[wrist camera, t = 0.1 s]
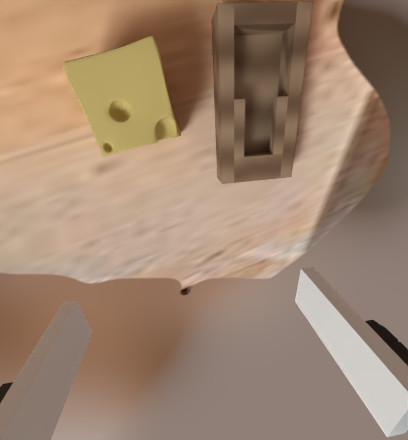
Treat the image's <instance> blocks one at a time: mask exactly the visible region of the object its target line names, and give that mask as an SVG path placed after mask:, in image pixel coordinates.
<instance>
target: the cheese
mask: <svg viewBox="0 0 408 440" xmlns="http://www.w3.org/2000/svg"><path fill="white" fill-rule="evenodd" d="M62 66H63V68H64V71H65V73H66V75H67V78H68V80H69V82H70V84H71V86H72V88H73V90H74V93H75V95H76V97H77V99H78V101H79V103H80V105H81V107H82V109H83V111H84V113H85V115H86V117H87V119H88V121H89V124H90V126H91V128H92V131H93V133H94V136H95V138H96V141H97V144H98V146H99V149H100V151H101V153H102V155H103V156H108V155H112V154H115V153H118V152H122V151H125V150H128V149H132V148H135V147H139V146H143V145H148V144H153V143H156V142H158V141H159V140H162V139H166V138H171V137H177V136H181V132H180V129H179V126H178V124H177V122H176V120H175V116H174V113H173V109H172V106H171V102H170V98H169V94H168V90H167V86H166V81H165V75H164V70H163V64H162V60H161V55H160V51H159V47H158V45H157V42H156V40H155V38H154V37H153V36H148V37H146V38H143V39H140V40H138V41H135V42H133V43H131V44H128V45H126V46H123V47H120V48H117V49H114V50H110V51H106V52H102V53H98V54H94V55H90V56H86V57H82V58H78V59H74V60H70V61H66V62H63V63H62Z"/></svg>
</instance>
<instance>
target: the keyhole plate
mask: <svg viewBox="0 0 408 440" xmlns="http://www.w3.org/2000/svg"><path fill="white" fill-rule="evenodd" d="M312 5H313V1H306V2H258V3H218V4H217V7H216V9H215V12H214V15H213V18H212V46H213V73H214V100H215V128H216V155H217V178H218V179H219V180H220V181H221V183H222V184H226V183H236V182H246V181H256V180H266V179H276V178H286V177H291V176H292V168H293V160H294V152H295V144H296V135H297V127H298V119H299V111H300V103H301V95H302V86H303V78H304V70H305V62H306V54H307V46H308V37H309V29H310V21H311V13H312Z"/></svg>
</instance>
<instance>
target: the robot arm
mask: <svg viewBox="0 0 408 440" xmlns="http://www.w3.org/2000/svg"><path fill="white" fill-rule="evenodd" d="M295 302H296V303H297V305H298V306H299V308H300V309H301V311H302V312H303V314H304V315H305V316H306V318H307V319H308V321H309V322H310V324H311V325H312V327H313V328H314V330H315V331H316V333H317V334H318V336H319V337H320V339H321V340H322V342H323V343H324V345H325V346H326V348H327V349H328V350H329V352H330V353H331V355H332V356H333V358H334V359H335V361H336V362H337V364H338V365H339V367H340V368H341V370H342V371H343V373H344V374H345V376H346V377H347V379H348V380H349V382H350V383H351V384H352V386H353V387H354V389H355V390H356V392H357V393H358V395H359V396H360V398H361V399H362V401H363V402H364V404H365V405H366V407H367V408H368V409H369V411H370V412H371V414H372V415H373V417H374V418H375V420H376V421H377V423H378V424H379V426H380V427H381V429H382V430H383V432H384V433H385V435H386V436H387V437H390V436H395V435H399V434H403V433H406V432H407V430H408V350H407V348H406V347H405V346H404V345H403V344H402V343H401V342H398V339H397V338H396V337H394V336H393V335H392V334H391V333H390V332H389V331H388V330H387V329H386V328H385V327H383V326H381V325H380V324H378V323H377V322H375V321H374V320H369V321H364V320H363V319H362V318H361V317H360V316H359V315H358V314H357V313H356V311H355V310H354V309H353V308H352V307H351V306H350V305H349V304H348V303H347V302H346V301H345V300H344V299H343V298H342V297H341V296H340V295H339V294H338V293H337V292H336V291H335V290H334V289H333V288H332V286H331V285H330V284H329V283H328V282H327V281H326V280H325V279H324V278H323V277H322V276H321V275H320V274H319V273H318V272H317V271H316V270H315V269H314V268H313V267H310V268H302V269H301V272H300V278H299V283H298V288H297V294H296V300H295ZM91 335H92V332H91V330H90V327H89V325H88V323H87V321H86V319H85V316H84V314H83V312H82V310H81V308H80V305H79V303H78V301H71V302H64V303H62V305H61V306H60V308H59V310H58V311H57V313H56V314H55V316H54V318H53V319H52V321H51V322H50V324H49V326H48V327H47V329H46V331H45V332H44V334H43V335H42V337H41V339H40V340H39V342H38V343H37V345H36V347H35V348H34V350H33V352H32V353H31V355H30V356H29V358H28V360H27V361H26V363H25V364H24V366H23V368H22V369H21V371H20V372H19V374H18V376H17V377H16V379H15V381H14V382H12V383H6V384H3V385H2V386H1V387H0V440H51V437H52V435H53V433H54V430H55V427H56V425H57V422H58V419H59V417H60V415H61V412H62V409H63V407H64V404H65V402H66V399H67V397H68V394H69V391H70V389H71V386H72V384H73V381H74V379H75V376H76V374H77V371H78V368H79V366H80V363H81V361H82V358H83V356H84V353H85V350H86V348H87V345H88V343H89V340H90V338H91Z"/></svg>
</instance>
